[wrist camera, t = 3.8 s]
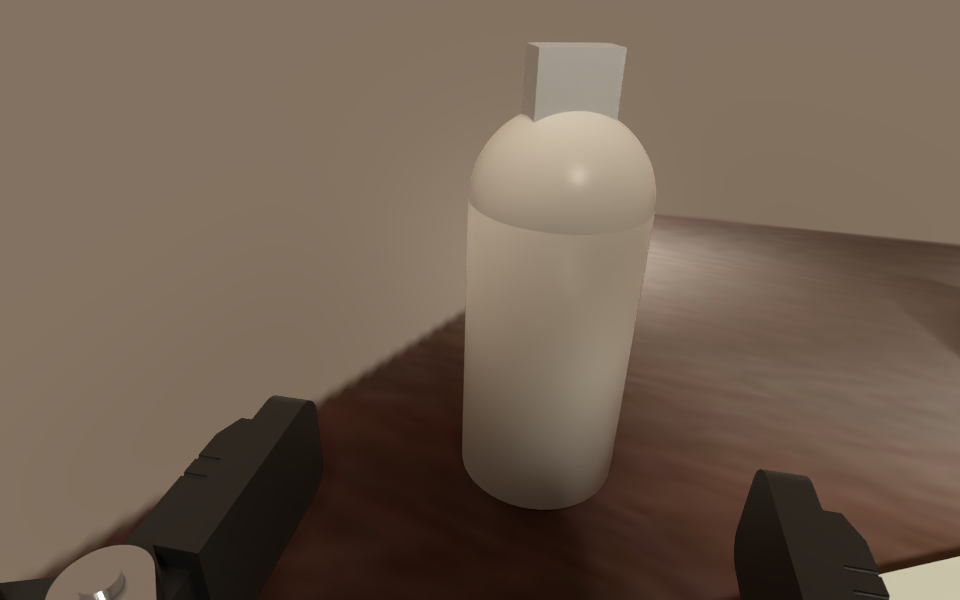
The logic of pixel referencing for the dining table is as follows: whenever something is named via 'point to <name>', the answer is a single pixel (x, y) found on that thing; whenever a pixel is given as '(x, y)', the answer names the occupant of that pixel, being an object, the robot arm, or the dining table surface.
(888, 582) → the cream flat board
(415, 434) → the dining table surface
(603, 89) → the bottle with rectangular cap
